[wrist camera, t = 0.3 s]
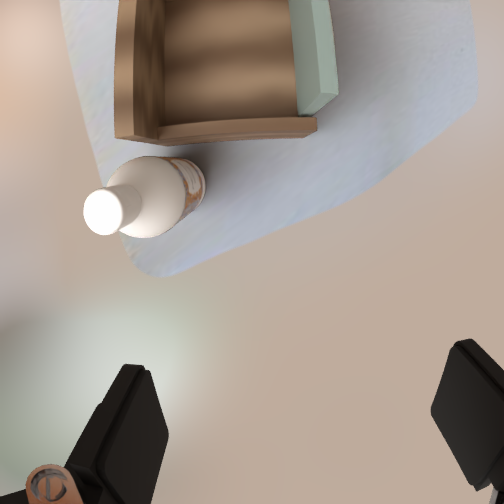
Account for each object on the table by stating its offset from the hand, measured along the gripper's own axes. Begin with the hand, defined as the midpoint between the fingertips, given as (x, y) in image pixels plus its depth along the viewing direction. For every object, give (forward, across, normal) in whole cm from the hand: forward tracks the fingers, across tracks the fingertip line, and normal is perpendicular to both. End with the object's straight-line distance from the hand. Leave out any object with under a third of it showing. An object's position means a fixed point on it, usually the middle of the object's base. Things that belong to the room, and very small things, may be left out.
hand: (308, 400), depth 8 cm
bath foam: (+31, +11, -4) cm, 33 cm away
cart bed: (+31, +4, -18) cm, 36 cm away
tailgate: (+25, -4, -18) cm, 31 cm away
